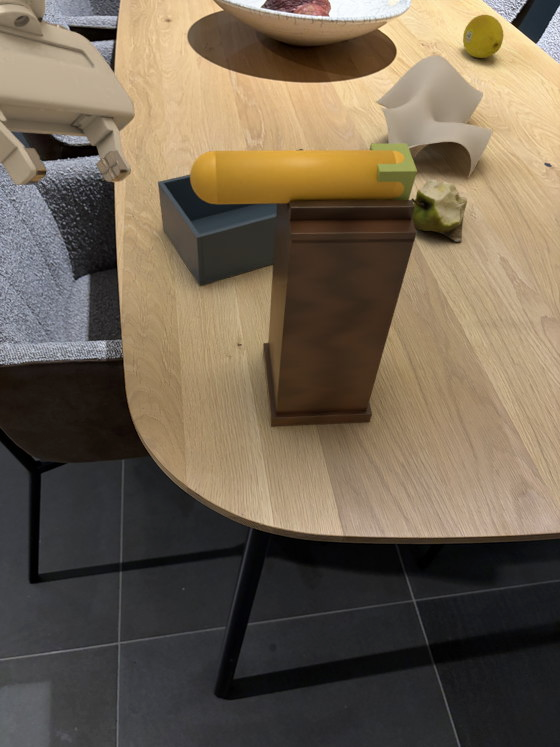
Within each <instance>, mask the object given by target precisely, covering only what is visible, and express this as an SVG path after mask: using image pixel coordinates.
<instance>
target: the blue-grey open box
mask: <svg viewBox="0 0 560 747" xmlns="http://www.w3.org/2000/svg"><path fill="white" fill-rule="evenodd" d="M298 150H304V149H303V148H299V149H298ZM157 186H158V193H159V194H158V196H159V203H160V204H159V205H160V213H161V214H160V215H161V222H162V223H161V224H162V231H163V232H164V234H165V235H166V237H167V238H168V240H169V241H170V243H171V244H172V246H173V247H174V249H175V250H176V252H177V254H178V255H179V257H180V258H181V260H182V262H184V264H185V265H186V267H187V269H188V270H189V272H190V274H191V275H192V277H193V278H194V279H195V281H196V282H197V284H198V286H200V287H201V286H205V285H208V284H212V283H214V282H218V281H221V280H224V279H228V278H232V277H234V276H237V275H241V274H244V273H248V272H252V271H254V270H259V269H261V268H264V267H268V266H273V259H274V243H275V227H276V211H277V203H275V204H211V203H207V202H205V201H203V200H202V199H201V198H199V197H198V196H197V194H196V193H195V192H194V190H193V188H192V185H191V181H190V174H185V175H181V176H178V177H177V176H176V177H173V178H169V179H168V178H167V179H164V180H159V181H157Z"/></svg>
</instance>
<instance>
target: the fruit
mask: <svg viewBox="0 0 560 747" xmlns="http://www.w3.org/2000/svg"><path fill="white" fill-rule="evenodd" d="M459 193H460V192H459V191H458V189H457V187H456V185H455V184H453V183H450V182H447V181H443V182H442V181H438V180H437V179H435V178H432V179H428V180H426V181H425V183H424V184H423V188H419V189H417V191H416V196H415V198H413V197H412V198H411V199H410V200H412V201H413V203H414V206H415V209H414V212H413V216H412V221H413V224H414V226H415V229H417V230H419V231H422V232H424V231H432V232H436V233H440V234H443V235H445V236H446V237H448V239H451V240H452V241H454V242H456V243H462V242H463V222H464V216H465V212H466V208H467V204H468V200H467V198H466V197H463V196H460V195H459Z"/></svg>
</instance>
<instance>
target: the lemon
mask: <svg viewBox="0 0 560 747" xmlns="http://www.w3.org/2000/svg"><path fill="white" fill-rule="evenodd" d="M462 42H463V43H462V44H463V48H464V50H465V52H466V53H467V54H468V55H469V56H471V57H473V58H476V59H486V58H490V57H491V56H493V55H495V54H496V53H498V51H499V50H500V49H501V47H502V44H503V42H504V29H503V27H502V24H501V22H500V21H499V20H498V19H497V18H496V17H494V16H492V15H489V14H479V15H477V16H475V17H474V18H472V19H471V20H470V21H469V22H468V23H467V25H466V27H465V28H464V30H463V37H462Z"/></svg>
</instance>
